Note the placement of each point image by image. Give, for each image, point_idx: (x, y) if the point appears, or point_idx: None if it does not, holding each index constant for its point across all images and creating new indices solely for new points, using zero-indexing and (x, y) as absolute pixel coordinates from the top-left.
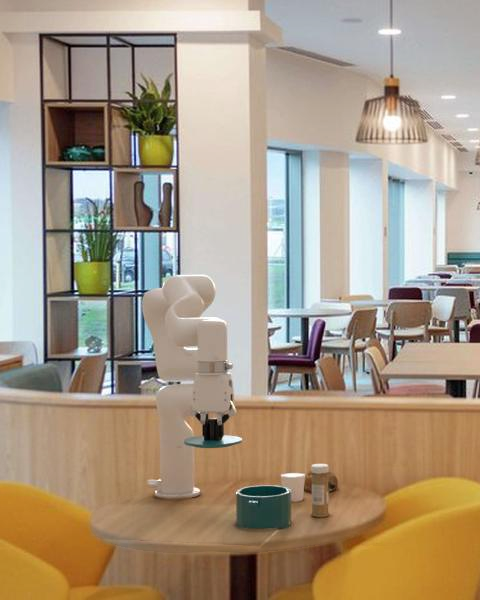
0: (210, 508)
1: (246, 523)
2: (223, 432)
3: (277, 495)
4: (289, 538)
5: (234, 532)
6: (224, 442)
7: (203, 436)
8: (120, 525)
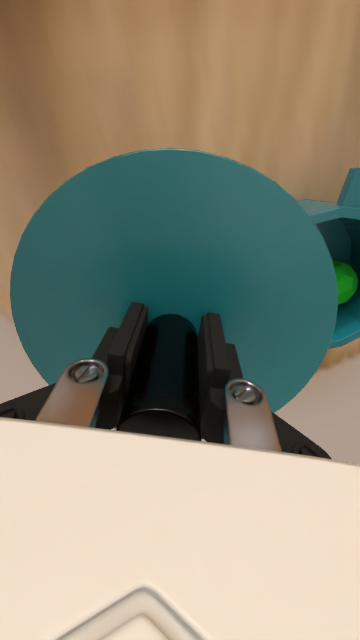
0: (141, 82)
1: None
2: (235, 356)
3: (358, 336)
4: (336, 354)
5: None
6: None
7: (74, 225)
8: (6, 277)
